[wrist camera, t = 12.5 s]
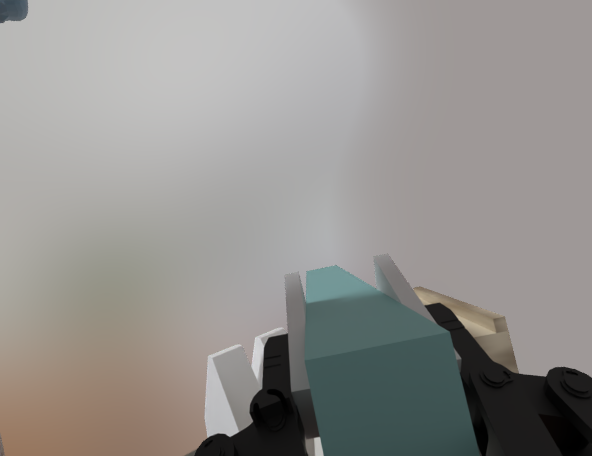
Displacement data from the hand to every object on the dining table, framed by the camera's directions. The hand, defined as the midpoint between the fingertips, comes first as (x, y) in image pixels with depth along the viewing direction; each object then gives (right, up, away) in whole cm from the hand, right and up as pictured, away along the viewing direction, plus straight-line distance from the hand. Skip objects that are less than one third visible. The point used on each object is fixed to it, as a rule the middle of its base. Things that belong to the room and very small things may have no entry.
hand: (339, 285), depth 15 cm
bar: (+1, -5, +7) cm, 9 cm away
